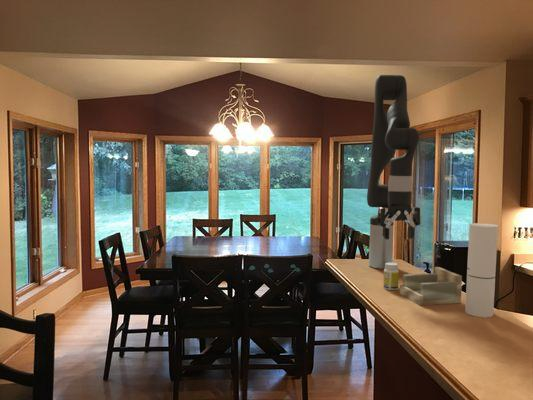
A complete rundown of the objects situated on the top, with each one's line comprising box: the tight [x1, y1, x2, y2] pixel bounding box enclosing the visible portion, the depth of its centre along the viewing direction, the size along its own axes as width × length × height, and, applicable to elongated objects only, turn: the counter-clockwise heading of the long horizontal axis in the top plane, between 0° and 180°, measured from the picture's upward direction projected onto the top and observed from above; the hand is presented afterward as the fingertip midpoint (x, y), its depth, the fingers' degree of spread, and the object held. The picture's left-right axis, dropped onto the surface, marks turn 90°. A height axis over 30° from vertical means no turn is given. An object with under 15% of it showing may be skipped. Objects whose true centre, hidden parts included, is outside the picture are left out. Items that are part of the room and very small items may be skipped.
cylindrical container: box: [464, 222, 499, 318], centre depth 124 cm, size 7×7×25 cm
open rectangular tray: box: [399, 266, 463, 306], centre depth 138 cm, size 12×14×8 cm
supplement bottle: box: [383, 262, 400, 291], centre depth 148 cm, size 5×5×8 cm
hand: (398, 238), depth 146 cm, fingers open, 8 cm apart
